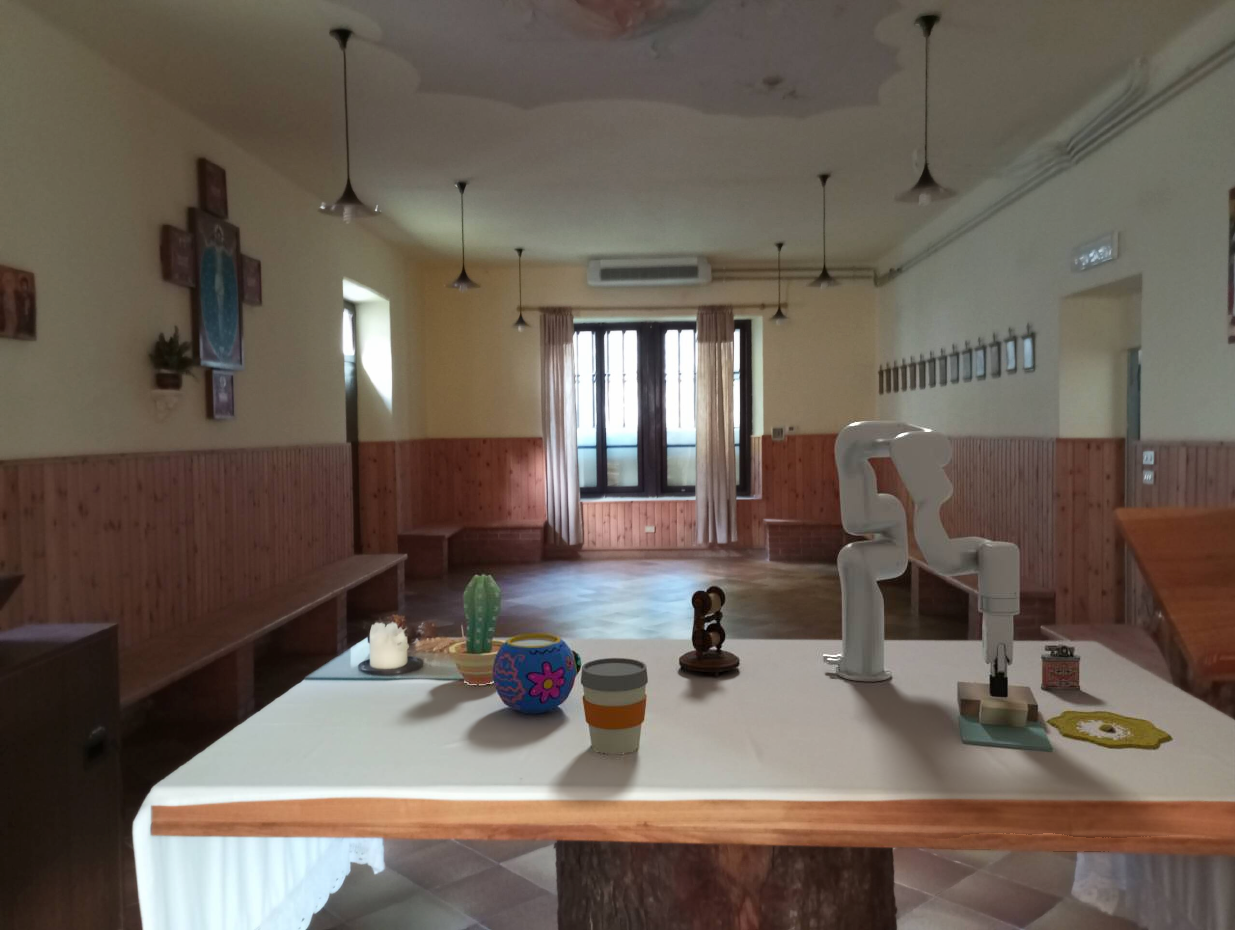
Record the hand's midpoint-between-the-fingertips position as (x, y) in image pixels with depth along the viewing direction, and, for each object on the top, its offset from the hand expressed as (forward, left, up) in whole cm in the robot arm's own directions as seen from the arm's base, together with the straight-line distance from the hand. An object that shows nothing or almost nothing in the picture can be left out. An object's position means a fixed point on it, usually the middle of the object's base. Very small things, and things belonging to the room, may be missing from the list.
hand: (998, 695), depth 171 cm
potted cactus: (-113, -3, -5) cm, 113 cm away
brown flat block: (0, +5, -5) cm, 7 cm away
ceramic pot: (-92, -19, -5) cm, 94 cm away
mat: (0, -8, -5) cm, 10 cm away
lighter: (+15, +25, -5) cm, 29 cm away
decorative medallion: (+19, -1, -6) cm, 20 cm away
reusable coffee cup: (-69, -34, -5) cm, 77 cm away
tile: (0, -6, -1) cm, 6 cm away
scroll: (-63, +20, -5) cm, 66 cm away
